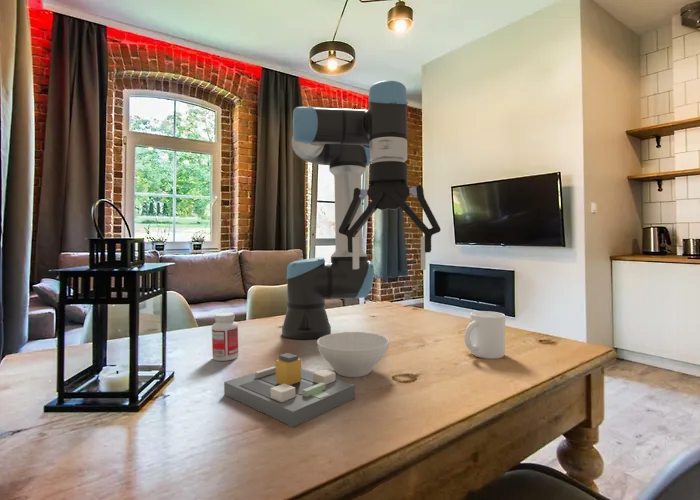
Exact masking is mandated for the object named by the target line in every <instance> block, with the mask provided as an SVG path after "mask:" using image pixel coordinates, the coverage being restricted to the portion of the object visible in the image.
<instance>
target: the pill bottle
mask: <svg viewBox="0 0 700 500" xmlns="http://www.w3.org/2000/svg"><path fill="white" fill-rule="evenodd" d="M235 316H236V315H235V312H232V311H231V312H230V311H229V312H219V313H215V315H214V321H215V322H214V323H213V324H212V326H211V338H212V339H211V342H212V346H211V347H212V349H211V350H212V360H214V361H216V362H217V361H218V362H224V361H225V362H227V361H231V360H235V359H237V358H238V356H239V326H238V323H237V322H236V321H234V320H235V319H236V317H235Z"/></svg>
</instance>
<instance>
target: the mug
mask: <svg viewBox="0 0 700 500" xmlns="http://www.w3.org/2000/svg"><path fill="white" fill-rule="evenodd" d="M464 343H465V347H466V348H467V349H468V350H469V351H470V353H471V354H472V355H473V356H475V357H477V358H480V359H487V360H488V359H489V360H491V359H495V360H497V359H498V360H499V359H502V358H503V357H504V356H505V354H506V315H505V314H504V313H502V312H497V311H489V310H488V311H487V310H480V311H479V310H477V311H472V312H470V322H469V324H468V325H467V327H466V329H465V332H464Z"/></svg>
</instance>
